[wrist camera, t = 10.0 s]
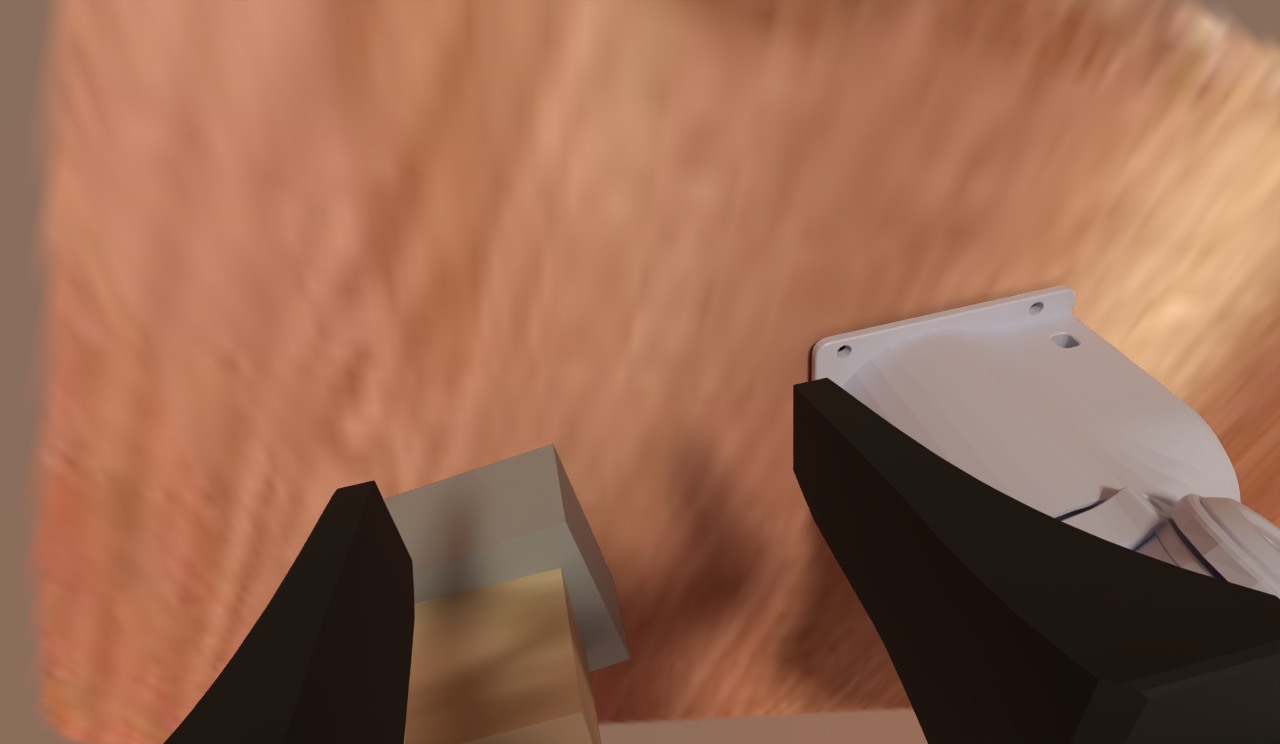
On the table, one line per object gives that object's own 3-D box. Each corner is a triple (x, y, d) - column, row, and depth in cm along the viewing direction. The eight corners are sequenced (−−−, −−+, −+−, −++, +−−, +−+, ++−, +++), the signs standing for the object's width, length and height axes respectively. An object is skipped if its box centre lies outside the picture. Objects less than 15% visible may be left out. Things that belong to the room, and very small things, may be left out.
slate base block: (552, 438, 26) (565, 521, 23) (612, 574, 31) (630, 659, 28) (333, 509, 26) (316, 603, 23) (427, 635, 31) (424, 727, 28)
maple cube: (560, 567, 24) (582, 711, 20) (586, 652, 27) (609, 793, 23) (412, 604, 24) (404, 758, 20) (454, 686, 27) (454, 835, 23)
